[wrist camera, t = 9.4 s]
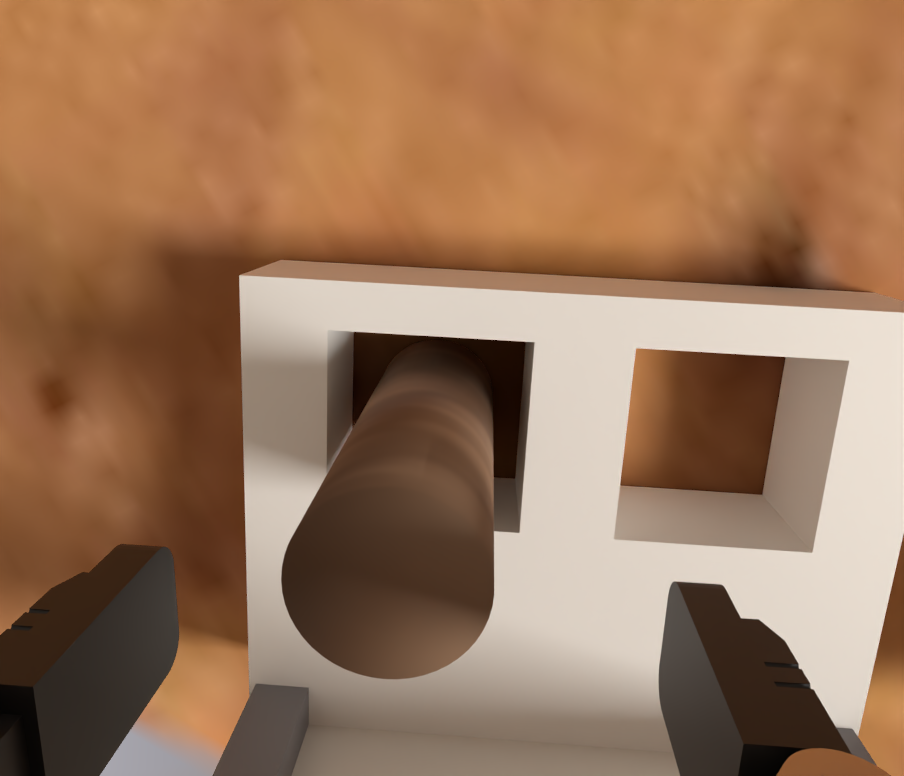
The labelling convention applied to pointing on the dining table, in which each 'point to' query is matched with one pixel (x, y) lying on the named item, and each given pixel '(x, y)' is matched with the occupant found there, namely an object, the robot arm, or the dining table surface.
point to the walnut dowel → (403, 523)
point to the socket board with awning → (572, 516)
